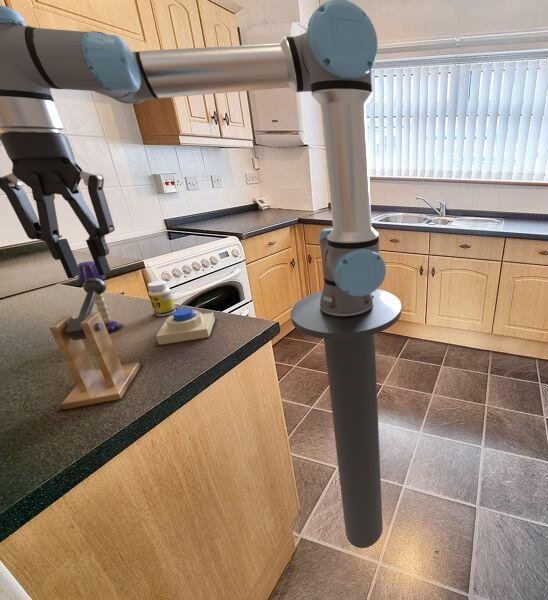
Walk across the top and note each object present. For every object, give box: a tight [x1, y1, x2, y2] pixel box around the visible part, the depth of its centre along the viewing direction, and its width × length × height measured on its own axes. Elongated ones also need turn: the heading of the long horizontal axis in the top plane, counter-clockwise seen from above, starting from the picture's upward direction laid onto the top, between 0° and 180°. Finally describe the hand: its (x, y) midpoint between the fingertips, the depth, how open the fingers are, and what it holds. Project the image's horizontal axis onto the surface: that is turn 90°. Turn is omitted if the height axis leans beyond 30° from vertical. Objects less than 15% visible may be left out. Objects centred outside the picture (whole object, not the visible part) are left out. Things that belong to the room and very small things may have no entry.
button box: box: [155, 309, 216, 346], centre depth 79 cm, size 10×9×4 cm
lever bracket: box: [48, 311, 141, 410], centre depth 58 cm, size 10×8×14 cm
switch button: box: [172, 307, 195, 322], centre depth 78 cm, size 4×4×2 cm
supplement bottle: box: [147, 280, 177, 317], centre depth 88 cm, size 5×5×8 cm
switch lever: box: [65, 278, 107, 340], centre depth 59 cm, size 13×3×3 cm, turn 20°
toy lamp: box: [77, 260, 121, 334], centre depth 78 cm, size 5×5×17 cm
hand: (90, 274), depth 61 cm, fingers open, 4 cm apart
